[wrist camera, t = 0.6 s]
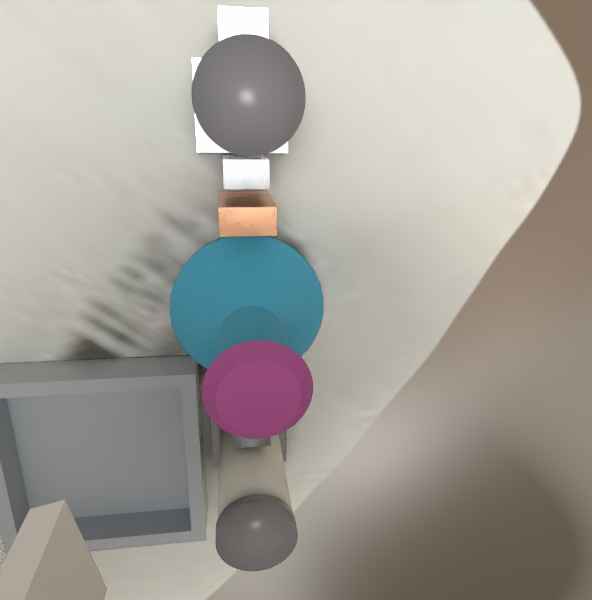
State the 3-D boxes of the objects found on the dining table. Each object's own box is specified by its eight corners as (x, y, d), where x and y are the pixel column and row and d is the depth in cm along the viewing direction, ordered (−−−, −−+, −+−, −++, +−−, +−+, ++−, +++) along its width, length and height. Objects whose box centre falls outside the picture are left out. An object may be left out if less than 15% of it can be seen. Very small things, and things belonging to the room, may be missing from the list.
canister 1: (204, 147, 30) (194, 156, 20) (200, 63, 28) (188, 31, 19) (280, 148, 30) (304, 156, 21) (280, 66, 29) (306, 36, 19)
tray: (23, 526, 38) (7, 559, 35) (-13, 364, 33) (-35, 386, 30) (207, 510, 39) (205, 540, 37) (197, 354, 35) (195, 374, 32)
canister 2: (219, 462, 37) (217, 575, 28) (217, 410, 36) (213, 510, 26) (279, 458, 38) (296, 566, 28) (279, 406, 36) (297, 503, 27)
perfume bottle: (316, 223, 33) (383, 293, 19) (306, 347, 36) (357, 488, 22) (176, 217, 31) (136, 288, 17) (178, 346, 34) (144, 496, 20)
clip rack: (214, 476, 38) (211, 547, 32) (190, 28, 28) (180, -2, 22) (284, 471, 39) (296, 539, 33) (287, 32, 29) (305, 4, 22)
